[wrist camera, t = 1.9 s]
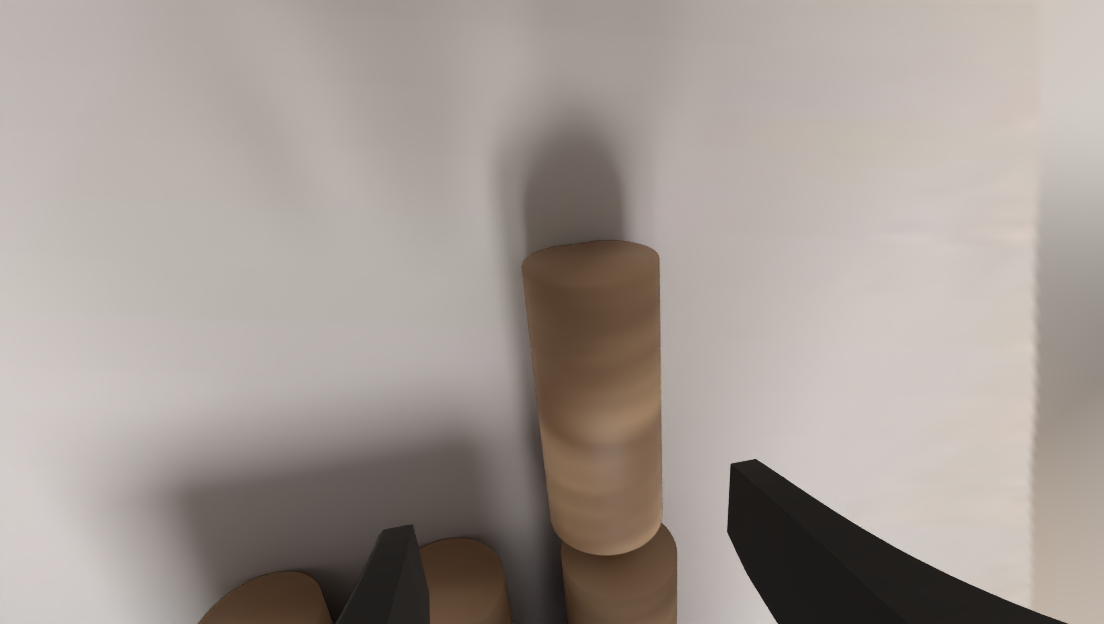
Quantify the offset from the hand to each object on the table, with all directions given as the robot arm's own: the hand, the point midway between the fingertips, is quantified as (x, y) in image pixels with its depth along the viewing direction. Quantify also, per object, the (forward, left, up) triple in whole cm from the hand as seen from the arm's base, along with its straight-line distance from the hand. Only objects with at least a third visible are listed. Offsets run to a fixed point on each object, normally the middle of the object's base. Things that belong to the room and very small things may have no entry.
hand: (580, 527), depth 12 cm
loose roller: (0, 0, -6) cm, 6 cm away
